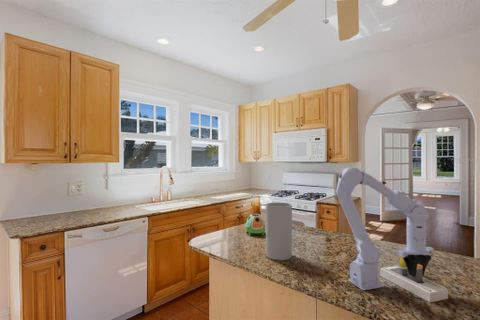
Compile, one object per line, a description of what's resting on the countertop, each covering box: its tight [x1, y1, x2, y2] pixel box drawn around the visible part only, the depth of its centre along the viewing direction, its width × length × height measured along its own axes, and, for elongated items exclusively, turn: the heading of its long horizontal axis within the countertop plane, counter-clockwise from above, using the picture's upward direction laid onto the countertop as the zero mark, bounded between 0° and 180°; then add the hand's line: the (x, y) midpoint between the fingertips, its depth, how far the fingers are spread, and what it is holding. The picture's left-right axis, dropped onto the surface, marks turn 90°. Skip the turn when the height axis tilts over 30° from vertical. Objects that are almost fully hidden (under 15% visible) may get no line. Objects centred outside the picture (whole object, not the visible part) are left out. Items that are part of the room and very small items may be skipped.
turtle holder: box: [245, 213, 266, 237], centre depth 164 cm, size 12×18×12 cm
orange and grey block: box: [408, 264, 424, 283], centre depth 92 cm, size 3×3×6 cm
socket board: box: [379, 264, 449, 303], centre depth 94 cm, size 20×8×4 cm, turn 16°
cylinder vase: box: [265, 201, 293, 261], centre depth 124 cm, size 12×12×25 cm
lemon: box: [399, 257, 407, 268], centre depth 105 cm, size 6×6×8 cm
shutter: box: [390, 267, 408, 276], centre depth 98 cm, size 5×5×3 cm
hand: (416, 274), depth 92 cm, fingers closed on orange and grey block, 3 cm apart
